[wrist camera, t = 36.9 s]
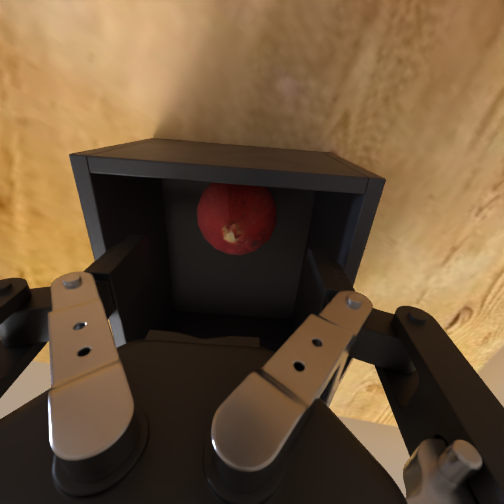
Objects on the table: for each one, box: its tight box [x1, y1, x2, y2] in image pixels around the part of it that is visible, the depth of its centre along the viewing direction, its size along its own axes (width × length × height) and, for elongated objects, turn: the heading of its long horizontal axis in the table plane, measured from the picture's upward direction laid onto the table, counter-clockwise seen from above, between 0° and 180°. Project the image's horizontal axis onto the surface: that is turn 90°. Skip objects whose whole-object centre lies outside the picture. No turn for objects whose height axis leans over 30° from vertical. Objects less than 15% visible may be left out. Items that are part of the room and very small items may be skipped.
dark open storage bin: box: [69, 138, 386, 353], centre depth 20 cm, size 18×15×10 cm
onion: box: [197, 183, 277, 255], centre depth 19 cm, size 6×6×8 cm
